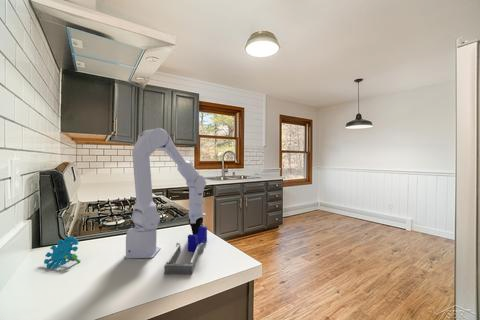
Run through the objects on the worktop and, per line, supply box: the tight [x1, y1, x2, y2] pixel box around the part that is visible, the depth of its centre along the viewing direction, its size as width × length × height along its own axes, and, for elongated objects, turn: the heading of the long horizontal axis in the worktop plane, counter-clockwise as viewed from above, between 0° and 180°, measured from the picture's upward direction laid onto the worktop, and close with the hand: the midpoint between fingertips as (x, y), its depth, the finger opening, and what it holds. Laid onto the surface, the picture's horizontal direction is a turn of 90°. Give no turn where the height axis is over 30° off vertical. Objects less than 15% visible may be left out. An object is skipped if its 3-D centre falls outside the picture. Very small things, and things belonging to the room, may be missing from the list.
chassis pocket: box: [163, 242, 205, 275], centre depth 74 cm, size 10×17×3 cm, turn 1°
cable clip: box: [187, 225, 208, 254], centre depth 86 cm, size 12×4×6 cm, turn 169°
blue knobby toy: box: [43, 236, 81, 269], centre depth 72 cm, size 11×6×10 cm
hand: (195, 235), depth 94 cm, fingers closed
